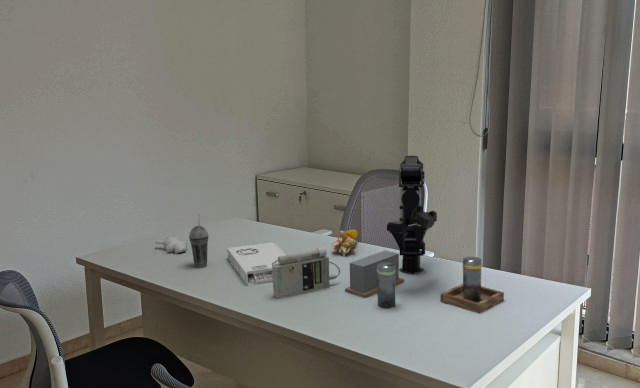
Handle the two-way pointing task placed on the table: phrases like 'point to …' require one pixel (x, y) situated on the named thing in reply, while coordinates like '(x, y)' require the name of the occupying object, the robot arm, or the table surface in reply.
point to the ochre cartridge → (472, 278)
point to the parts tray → (487, 300)
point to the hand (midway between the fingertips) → (410, 249)
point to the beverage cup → (199, 245)
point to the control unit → (370, 273)
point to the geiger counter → (301, 273)
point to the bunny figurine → (173, 245)
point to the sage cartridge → (386, 284)
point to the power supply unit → (255, 261)
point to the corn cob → (345, 241)
